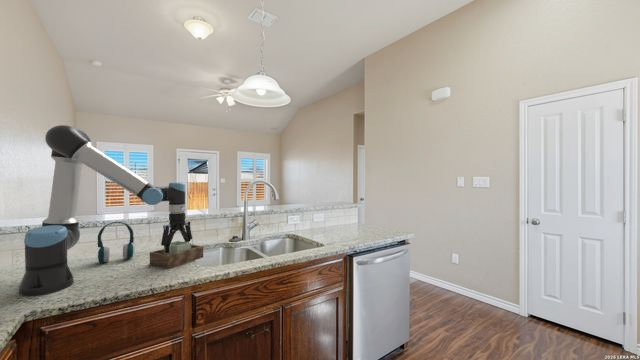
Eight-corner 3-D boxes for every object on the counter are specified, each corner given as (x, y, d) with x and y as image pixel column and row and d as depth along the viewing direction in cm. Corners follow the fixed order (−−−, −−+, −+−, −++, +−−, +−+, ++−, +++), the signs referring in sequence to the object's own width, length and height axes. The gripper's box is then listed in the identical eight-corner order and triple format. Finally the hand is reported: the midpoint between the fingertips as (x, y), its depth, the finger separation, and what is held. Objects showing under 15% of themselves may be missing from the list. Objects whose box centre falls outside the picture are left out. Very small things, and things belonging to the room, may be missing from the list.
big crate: (168, 268, 128) (168, 256, 128) (149, 264, 135) (149, 252, 134) (203, 257, 146) (203, 246, 146) (185, 253, 153) (185, 243, 152)
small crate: (177, 262, 135) (177, 246, 135) (163, 259, 139) (164, 243, 139) (191, 258, 142) (191, 242, 142) (178, 255, 146) (178, 240, 146)
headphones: (98, 261, 139) (98, 222, 139) (133, 256, 148) (133, 219, 147) (96, 265, 133) (96, 224, 132) (133, 260, 141) (133, 221, 141)
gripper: (162, 215, 129) (162, 263, 129) (199, 210, 148) (199, 251, 148) (152, 214, 132) (152, 261, 132) (190, 209, 151) (190, 250, 152)
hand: (177, 256), depth 140 cm, fingers open, 9 cm apart
